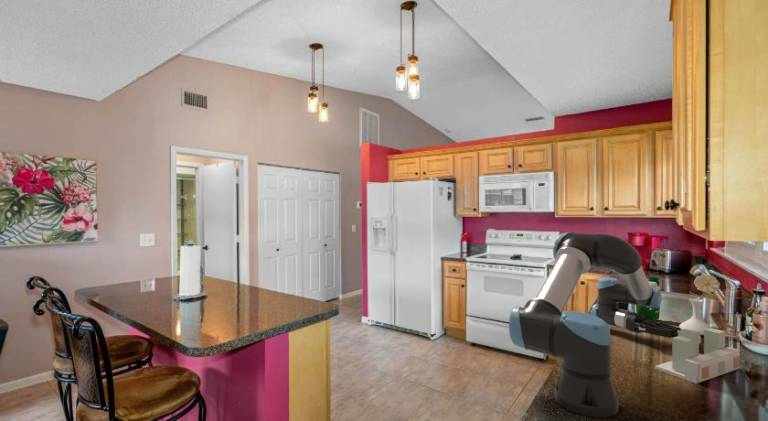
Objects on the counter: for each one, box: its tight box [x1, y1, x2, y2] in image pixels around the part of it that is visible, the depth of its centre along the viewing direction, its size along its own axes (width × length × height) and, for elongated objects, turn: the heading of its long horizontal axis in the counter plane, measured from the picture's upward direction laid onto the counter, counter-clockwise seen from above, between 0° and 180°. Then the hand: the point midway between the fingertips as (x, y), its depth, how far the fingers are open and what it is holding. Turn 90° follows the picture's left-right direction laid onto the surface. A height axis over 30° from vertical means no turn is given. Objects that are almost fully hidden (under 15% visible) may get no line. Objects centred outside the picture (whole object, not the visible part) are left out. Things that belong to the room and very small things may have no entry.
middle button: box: [678, 329, 700, 357], centre depth 126 cm, size 4×4×10 cm
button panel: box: [654, 346, 741, 384], centre depth 123 cm, size 25×12×6 cm, turn 115°
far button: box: [703, 327, 726, 354], centre depth 127 cm, size 4×4×10 cm
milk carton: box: [635, 275, 661, 322], centre depth 178 cm, size 9×9×20 cm
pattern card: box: [699, 352, 741, 383], centre depth 118 cm, size 22×1×5 cm, turn 115°
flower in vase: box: [678, 273, 721, 336], centre depth 157 cm, size 13×11×25 cm
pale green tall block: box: [671, 336, 694, 373], centre depth 119 cm, size 4×4×10 cm
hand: (699, 339), depth 131 cm, fingers closed
